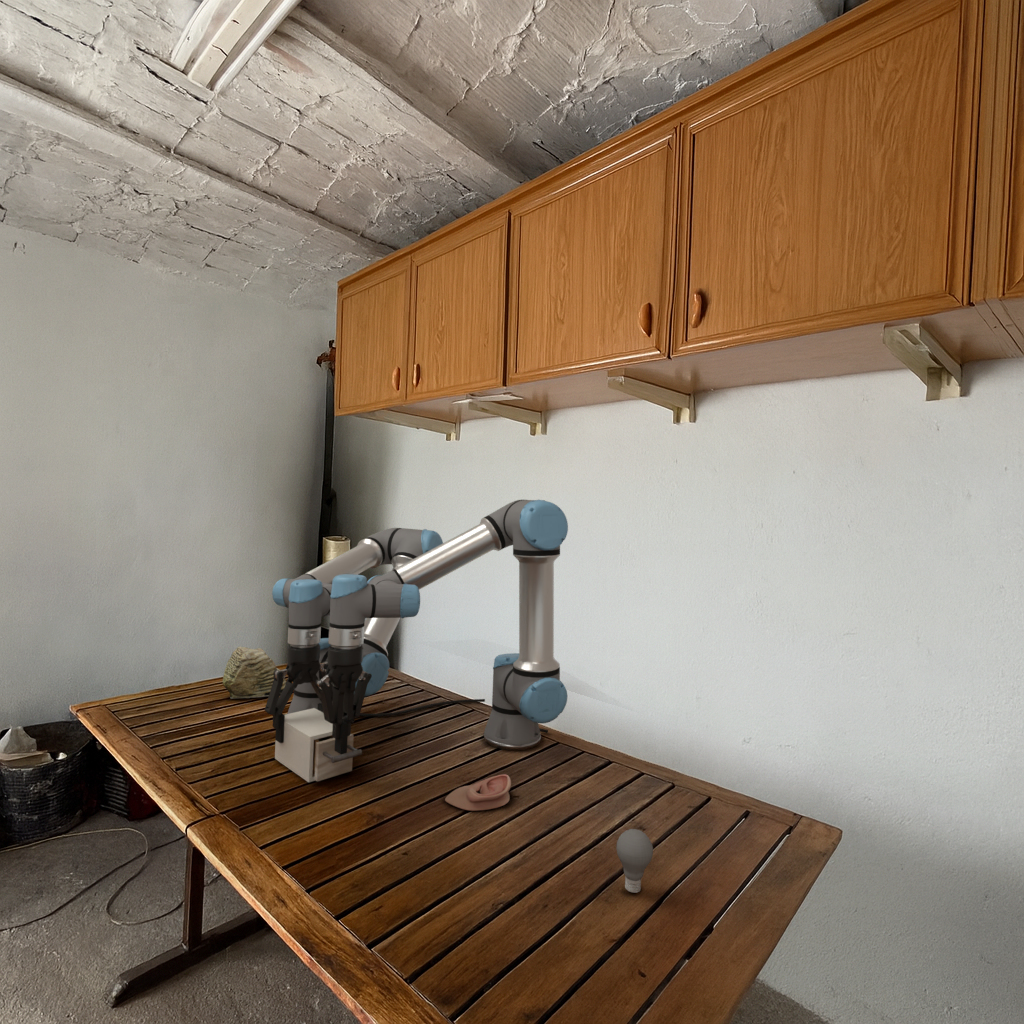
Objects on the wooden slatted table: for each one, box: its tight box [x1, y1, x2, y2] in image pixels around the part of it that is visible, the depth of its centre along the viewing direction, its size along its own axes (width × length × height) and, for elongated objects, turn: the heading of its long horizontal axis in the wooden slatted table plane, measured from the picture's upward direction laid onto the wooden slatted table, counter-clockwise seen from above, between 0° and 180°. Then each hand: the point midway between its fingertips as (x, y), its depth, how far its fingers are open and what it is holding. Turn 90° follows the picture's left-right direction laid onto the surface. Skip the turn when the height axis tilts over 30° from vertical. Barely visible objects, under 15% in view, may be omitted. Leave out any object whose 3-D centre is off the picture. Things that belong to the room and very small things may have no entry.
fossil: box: [222, 646, 287, 699], centre depth 198 cm, size 9×18×15 cm, turn 132°
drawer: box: [313, 733, 363, 782], centre depth 145 cm, size 21×9×8 cm, turn 46°
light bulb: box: [615, 828, 654, 894], centre depth 106 cm, size 6×6×10 cm
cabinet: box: [274, 708, 333, 783], centre depth 149 cm, size 17×10×10 cm, turn 46°
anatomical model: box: [444, 773, 512, 812], centre depth 136 cm, size 13×4×12 cm
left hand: (300, 735), depth 153 cm, fingers closed on cabinet, 10 cm apart
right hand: (340, 751), depth 140 cm, fingers closed
